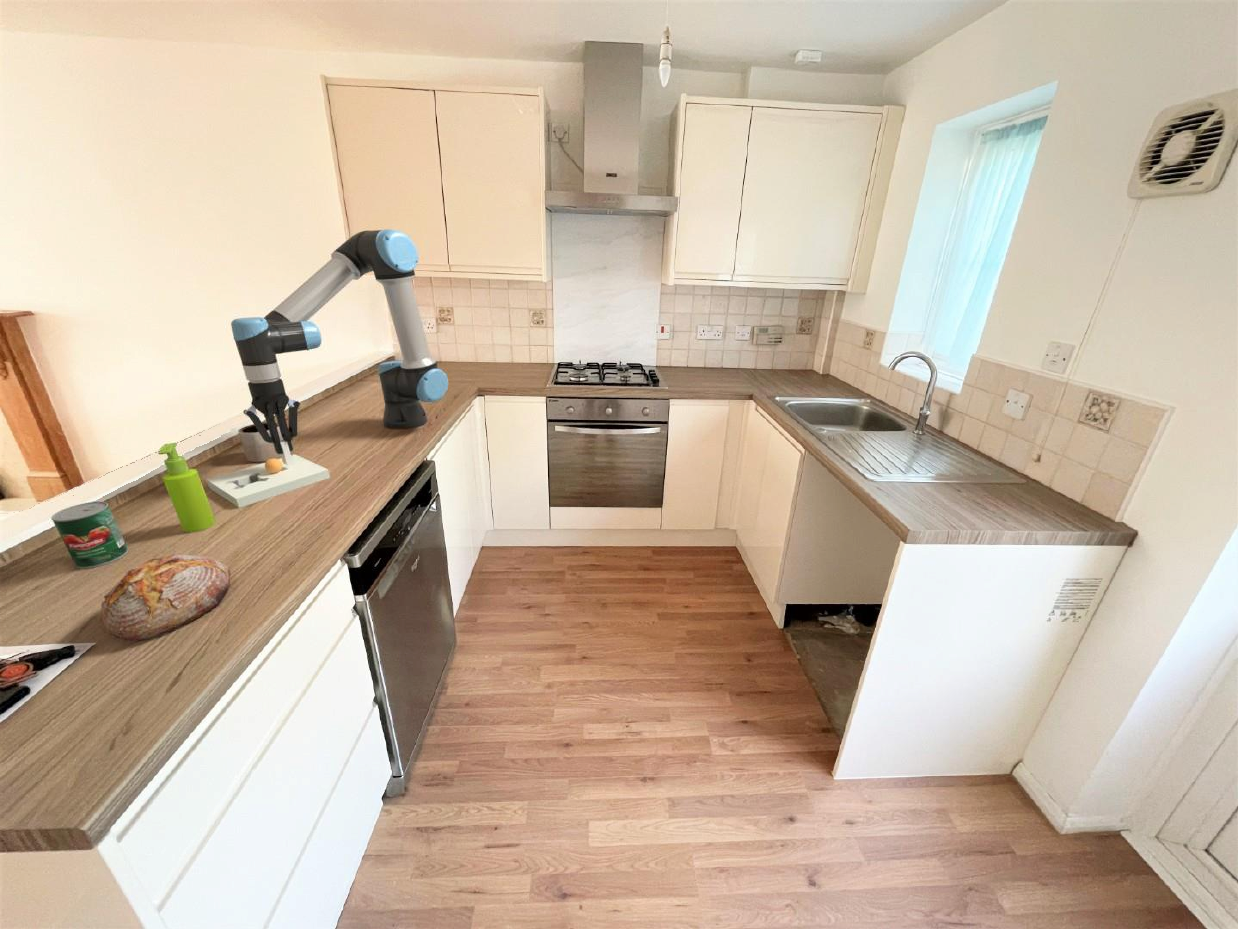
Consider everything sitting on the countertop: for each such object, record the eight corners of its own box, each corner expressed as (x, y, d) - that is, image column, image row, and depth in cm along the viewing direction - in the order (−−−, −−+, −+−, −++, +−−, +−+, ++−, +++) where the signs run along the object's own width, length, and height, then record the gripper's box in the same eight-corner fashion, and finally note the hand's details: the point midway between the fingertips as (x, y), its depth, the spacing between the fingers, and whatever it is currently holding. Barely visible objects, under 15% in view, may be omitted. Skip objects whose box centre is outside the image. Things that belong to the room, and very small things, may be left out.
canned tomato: (82, 573, 96) (57, 524, 92) (70, 561, 100) (45, 513, 96) (134, 554, 102) (113, 507, 98) (121, 543, 106) (100, 498, 102)
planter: (239, 460, 150) (229, 430, 146) (273, 448, 159) (265, 420, 155) (263, 465, 146) (253, 435, 142) (297, 453, 155) (289, 424, 151)
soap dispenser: (178, 536, 109) (144, 452, 101) (187, 523, 114) (155, 442, 106) (211, 530, 111) (180, 448, 103) (218, 517, 117) (189, 438, 109)
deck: (297, 461, 148) (294, 454, 147) (330, 477, 138) (328, 469, 137) (209, 487, 132) (206, 479, 131) (239, 508, 121) (236, 499, 120)
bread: (82, 659, 77) (48, 609, 73) (157, 584, 95) (133, 540, 91) (200, 636, 80) (174, 587, 76) (252, 567, 98) (232, 524, 94)
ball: (270, 453, 135) (258, 464, 133) (277, 457, 133) (265, 467, 131) (281, 463, 138) (269, 473, 136) (288, 466, 136) (276, 477, 134)
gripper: (285, 373, 135) (306, 453, 144) (229, 382, 125) (255, 467, 134) (298, 377, 131) (318, 459, 140) (241, 386, 121) (267, 474, 130)
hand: (288, 463), depth 137 cm, fingers closed
